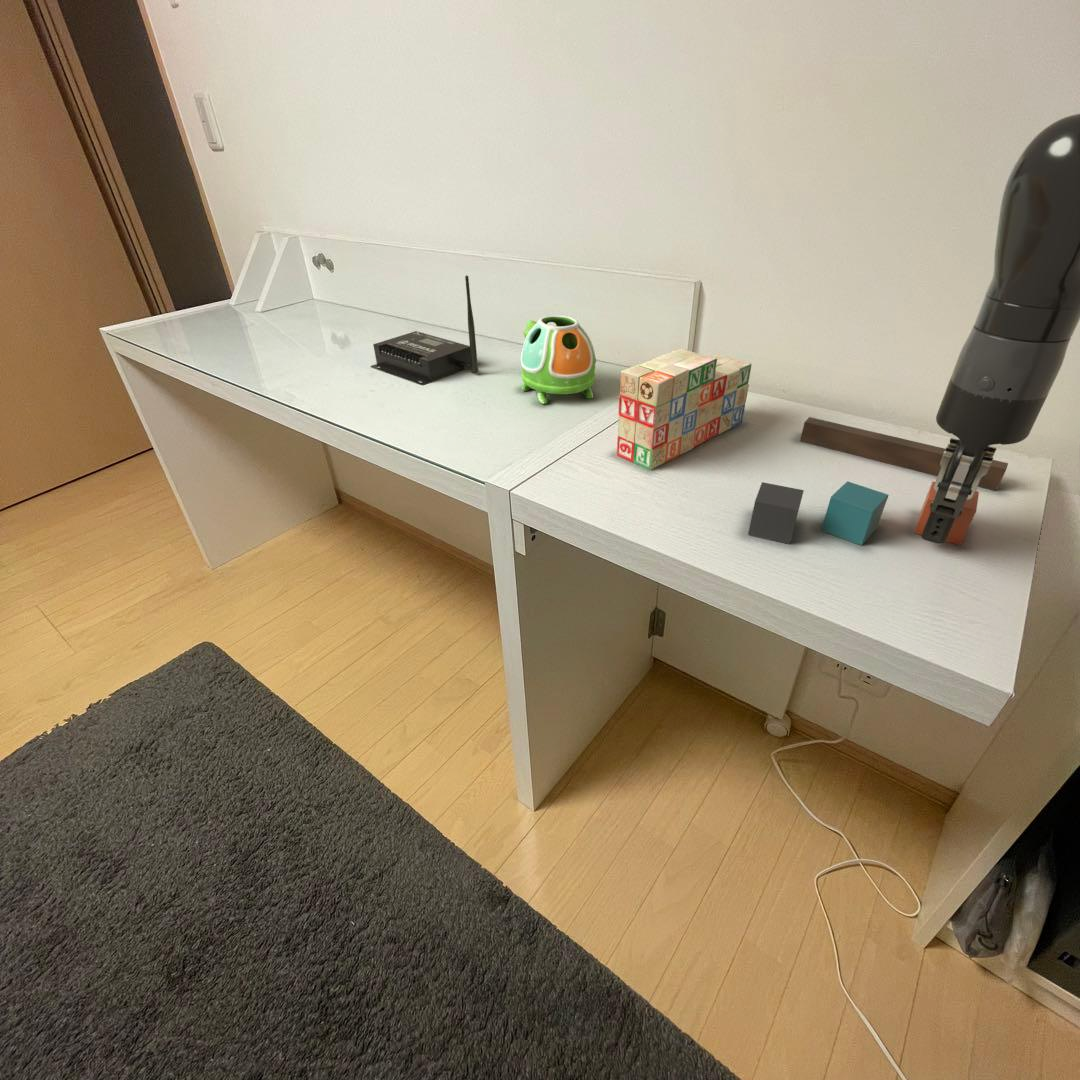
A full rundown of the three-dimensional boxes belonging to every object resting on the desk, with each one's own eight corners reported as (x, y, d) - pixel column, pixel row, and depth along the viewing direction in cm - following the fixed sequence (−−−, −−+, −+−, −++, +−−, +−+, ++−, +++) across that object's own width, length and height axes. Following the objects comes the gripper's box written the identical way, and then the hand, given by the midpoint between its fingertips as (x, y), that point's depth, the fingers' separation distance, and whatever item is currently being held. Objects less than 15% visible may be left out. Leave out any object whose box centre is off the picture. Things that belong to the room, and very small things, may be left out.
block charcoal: (795, 523, 70) (803, 490, 68) (789, 544, 67) (798, 510, 64) (754, 515, 72) (762, 481, 69) (747, 535, 69) (754, 501, 66)
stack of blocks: (708, 411, 96) (719, 332, 89) (742, 423, 92) (757, 342, 85) (615, 455, 85) (620, 369, 78) (650, 471, 81) (658, 382, 74)
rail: (998, 484, 76) (1008, 463, 74) (996, 491, 75) (1006, 469, 73) (804, 436, 88) (809, 416, 87) (799, 441, 87) (804, 421, 85)
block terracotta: (963, 525, 69) (979, 491, 66) (960, 545, 66) (976, 510, 63) (919, 514, 71) (932, 480, 69) (914, 533, 68) (927, 498, 66)
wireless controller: (369, 366, 117) (351, 271, 107) (425, 347, 126) (413, 258, 116) (437, 390, 106) (424, 287, 96) (494, 368, 115) (487, 271, 105)
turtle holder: (563, 365, 115) (562, 299, 108) (609, 399, 101) (612, 326, 94) (501, 376, 111) (497, 308, 104) (540, 412, 98) (538, 337, 91)
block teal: (876, 528, 69) (889, 494, 66) (861, 545, 66) (873, 511, 64) (837, 514, 72) (847, 480, 69) (820, 530, 69) (830, 496, 66)
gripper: (1044, 415, 49) (963, 583, 59) (1054, 368, 57) (982, 522, 67) (939, 395, 53) (879, 556, 63) (963, 354, 61) (907, 501, 71)
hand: (933, 538), depth 65 cm, fingers closed
